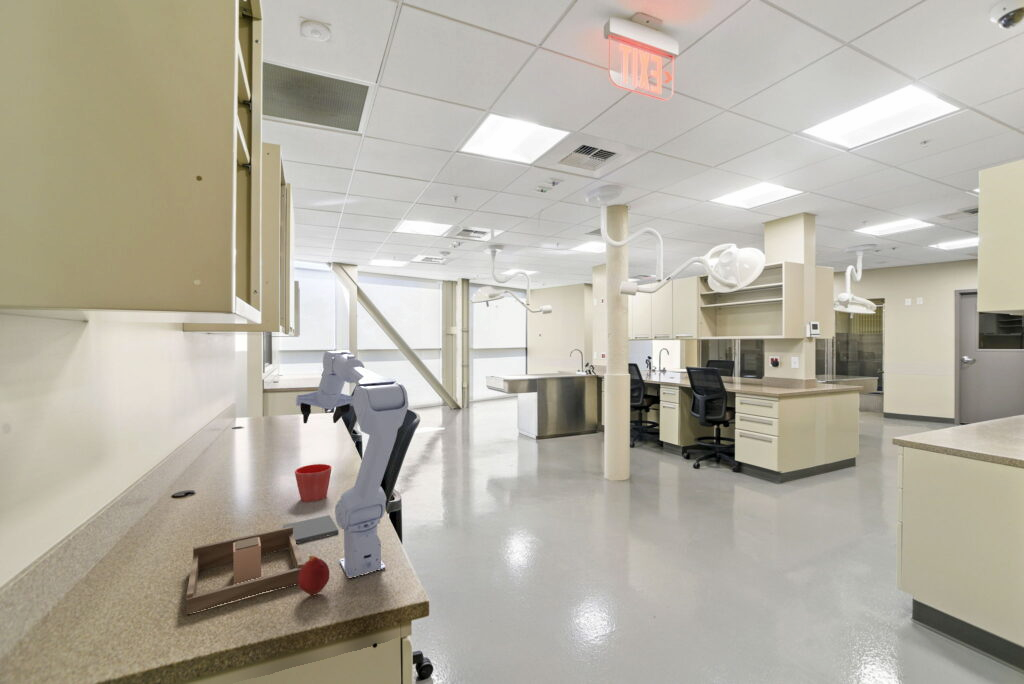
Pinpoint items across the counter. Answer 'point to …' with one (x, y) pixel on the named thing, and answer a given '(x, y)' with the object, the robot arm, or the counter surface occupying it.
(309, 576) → the onion
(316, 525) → the rubber mat
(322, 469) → the flower pot
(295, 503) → the counter surface
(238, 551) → the upright tan block
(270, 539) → the open wooden frame
